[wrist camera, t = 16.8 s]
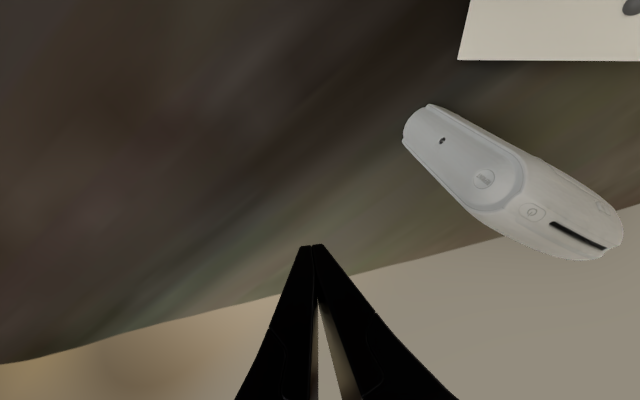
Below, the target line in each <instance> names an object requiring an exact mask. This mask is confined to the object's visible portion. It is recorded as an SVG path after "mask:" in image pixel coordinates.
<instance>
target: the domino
mask: <svg viewBox="0 0 640 400" xmlns="http://www.w3.org/2000/svg"><path fill="white" fill-rule="evenodd" d="M457 60H539V61H640V0H471V1H470V5H469V10H468V14H467V18H466V23H465V27H464V32H463V36H462V40H461V45H460V49H459V53H458V58H457Z"/></svg>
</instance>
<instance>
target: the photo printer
mask: <svg viewBox="0 0 640 400" xmlns="http://www.w3.org/2000/svg"><path fill="white" fill-rule="evenodd" d="M403 137H404V138H403V140H402V143H403V145H404V146H405V147H406V148H407V149H408V150H409V151H410V153H411V154H412V155H413V156H414V157H415V158H416V159H417V160H418V161H419V162H420V163H421V164H422V165H423V166H424V167H425V168H426V169H427V170H428V171H429V172H430V173H431V175H432V176H433V177H434V178H435V179H436V180H437V181H438V182H439V183H440V184H441V185H442V186H443V187H444V188H445V189H446V190H447V191H448V192H449V193H450V194H451V195H452V196H453V197H454V198H455V199H456V200H457V201H458V202H459V203H460V204H461V205H462V206H463V207H464V208H465V209H466V211H468V212H469V213H470V214H471V215H472V216H474V217H475V218H476V219H477V220H479V221H480V222H482V223H483V224H485V225H486V226H488V227H490V228H492V229H493V230H495V231H497V232H499V233H500V234H502V235H504V236H506V237H508V238H510V239H512V240H514V241H516V242H518V243H520V244H522V245H525V246H527V247H529V248H532V249H534V250H536V251H539V252H542V253H545V254H548V255H551V256H554V257H558V258H562V259H566V260H579V261H583V260H593V259H597V258H601V257H602V256H603V255H604V254H605V253H606V252H607V251H608V250H610V249H612V248H614V247H618V246H619V245H620V244H621V242H622V240H623V235H624V231H623V230H624V229H623V224H622V222H621V219H620V217H619V216H618V214H617V212H616V210H615V209H614V208H613V207H612V206H611V205H610V204H609V203H607V202H606V201H605V200H604V199H603V198H602V197H600V196H599V195H598V194H596V193H595V192H593V191H592V190H591V189H589V188H588V187H586V186H585V185H583V184H582V183H580V182H579V181H577V180H575V179H574V178H572V177H571V176H569V175H567V174H566V173H564V172H562V171H561V170H559V169H557V168H555V167H554V166H552V165H550V164H548V163H546V162H544V161H543V160H542V159H540V158H538V157H535V156H533V155H531V154H529V153H527V152H525V151H523V150H521V149H519V148H517V147H516V146H514V145H512V144H510V143H508V142H506V141H504V140H502V139H501V138H499V137H497V136H495V135H493V134H491V133H490V132H488V131H486V130H484V129H482V128H480V127H479V126H477V125H475V124H473V123H471V122H469V121H468V120H466V119H464V118H462V117H460V116H459V115H458V114H455V113H453V112H451V111H449V110H447V109H445V108H443V107H440V106H437V105H433V104H428V105H427V106H426V107H423V108H420V109H419V110H417V111H416V112H415V113H414V114H413V115H412V116H411V117H410V118H409V119H408V121H407V123H406V124H405V127H404V130H403Z"/></svg>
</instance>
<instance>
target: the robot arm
mask: <svg viewBox="0 0 640 400" xmlns="http://www.w3.org/2000/svg"><path fill="white" fill-rule="evenodd" d="M317 299H318V300H317ZM318 305H319V309H320V313H321V317H322V321H323V325H324V329H325V333H326V337H327V341H328V345H329V349H330V353H331V357H332V361H333V365H334V369H335V373H336V376H337V381H338V384H339V389H340V392H341V396H342V400H459V399H458V398H456V397H455V396H454V395H453V394H452V393H451V392H450V391H448V390H447V389H446V388H445V387H444V386H443V385H442V384H441V383H440V382H439V381H438V380H437V379H436V378H435V376H434V375H433V374H432V373H431V372H430V371H428V370H427V368H426V367H425V366H424V365H423V364H422V363H421V362H420V361H419V360H418V359H417V358H416V357H415V356H414V355H413V354H412V353H411V352H410V351H409V350H408V349H407V348H406V347H405V346H404V345H403V343H402V342H401V341H400V340H399V339H398V338H397V337H396V336H395V335H394V334H393V332H392V331H391V330H390V329H389V328H388V326H387V325H386V324H385V323H384V321H383V320H382V319H381V318H380V316H379V315H378V314H377V313H375V310H374V309H373V308H372V306H371V305H370V304H369V303H368V301H367V300H366V299H365V298H364V296H363V295H362V293H361V292H360V291H359V290H358V288H357V287H356V286H355V285H354V283H353V282H352V281H351V280H350V278H349V277H348V276H347V274H346V273H345V272H344V270H343V269H342V268H341V267H340V265H339V264H338V263H337V262H336V260H335V259H334V258H333V256H332V255H331V254H330V253H329V251H328V250H327V249H326V247H325V246H324V245H323V244H316V245H312V247H311V246H310V245H308V246H301V247H300V248H299V251H298V253H297V256H296V258H295V261H294V264H293V266H292V269H291V271H290V274H289V276H288V279H287V281H286V284H285V286H284V289H283V292H282V294H281V297H280V299H279V302H278V305H277V307H276V310H275V313H274V315H273V317H272V320H271V322H270V325H269V329H268V330H267V332H266V335H265V338H264V340H263V342H262V345H261V347H260V349H259V351H258V354H257V356H256V358H255V360H254V362H253V364H252V366H251V368H250V371H249V372H248V375H247V376H246V378H245V380H244V382H243V384H242V386H241V388H240V390H239V392H238V393H237V396H236V397H235V399H234V400H318Z"/></svg>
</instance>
